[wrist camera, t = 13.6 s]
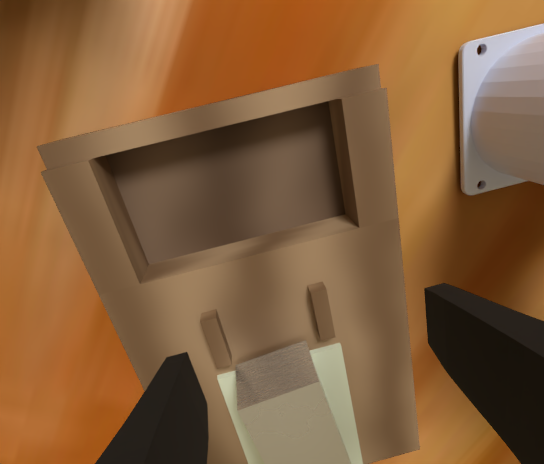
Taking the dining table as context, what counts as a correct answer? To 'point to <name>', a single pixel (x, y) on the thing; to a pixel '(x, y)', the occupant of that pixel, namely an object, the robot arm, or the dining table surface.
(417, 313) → the dining table surface
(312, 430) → the bar
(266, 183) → the board
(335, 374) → the pad
